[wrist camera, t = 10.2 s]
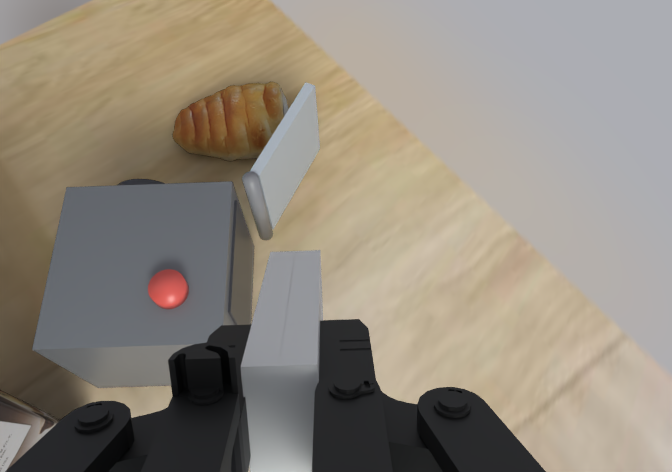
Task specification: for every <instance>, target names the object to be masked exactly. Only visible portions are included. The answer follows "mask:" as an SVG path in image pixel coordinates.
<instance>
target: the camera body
mask: <svg viewBox="0 0 672 472" xmlns="http://www.w3.org/2000/svg"><path fill="white" fill-rule="evenodd" d="M253 264H254V245H253V242H252V239H251V236H250V233H249V230H248V227H247V224H246V221H245V218H244V215H243V212H242V209H241V206H240V203H239V200H238V197H237V194H236V191H235V188H234V186H233V183H232V181H231V182H203V183H175V184H165V183H162V182H159V181H155V180H149V179H131V180H126V181H123V182H121V183H119V184H118V185H117V186H90V187H67V188H66V192H65V197H64V202H63V207H62V211H61V216H60V221H59V225H58V230H57V235H56V240H55V244H54V249H53V254H52V259H51V263H50V268H49V273H48V277H47V282H46V287H45V292H44V296H43V301H42V306H41V311H40V315H39V320H38V325H37V329H36V334H35V339H34V344H33V348H32V350H34V351H35V352H37V353H39V354H40V355H42V356H44V357H46V358H47V359H49V360H51V361H53V362H54V363H56V364H58V365H59V366H61V367H63V368H65V369H66V370H68V371H70V372H72V373H73V374H75V375H77V376H78V377H80V378H82V379H84V380H85V381H87V382H89V383H90V384H92V385H94V386H96V387H97V388H108V387H139V386H170V385H171V379H170V372H169V365H168V359H169V358H170V357H171V356H172V355H173V353H175V352H177V351H179V350H180V349H182V348H184V347H187V346H191V345H194V344H199V343H207V340H208V338H209V335H210V334H212V333H213V332H214V331H215V330H216V329H218V328H219V327H220V326H221V325H249V324H251V314H252V289H253Z"/></svg>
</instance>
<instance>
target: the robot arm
mask: <svg viewBox="0 0 672 472" xmlns="http://www.w3.org/2000/svg"><path fill="white" fill-rule="evenodd" d="M168 365H169V372H170V379H171V387H172V394H173V397H172V399H171V402H170V404H169V406H168V408H166V409H164V410H162V411H158V412H155V413H151V414H147V415H143V416H139V417H134V418H131V413H130V409H129V408H128V407H127V406H126V405H125V404H123V403H120V402H116V401H98V402H95V403H94V402H93V403H89V404H86V405H84V406H82V407H80V408H77V409H75V410H73V411H72V412H71V413H69V414H68V415H66V416H65V417H64V418H62V419H61V420H60V421H59V422H58V423H57V424H56V425H55V426H54V427H53V428H52V429H51V430H50V431H48V432H47V433H46V434H45V435H44V436H43V437H42V438H41V439H40V440H39V441H38V442H37V443H36V444H34V445H33V446H32V447H31V448H30V449H29V450H28V451H27V452H26V453H25V454H24V455H23V456H22V457H20V458H19V459H18V460H17V461H16V462H15V463H14V464H13V465H12V466H11V467H10V468H9V469H7V470H6V471H5V472H248V469H249V465H250V472H546V471H545V470H544V469H543V468H542V467H541V466H540V465H539V463H538V462H537V461H536V460H535V459H534V458H533V456H532V455H531V454H530V453H529V452H528V451H527V450H526V448H525V447H524V446H523V445H522V444H521V443H520V441H519V440H518V439H517V438H516V437H515V436H514V435H513V433H512V432H511V431H510V430H509V429H508V428H507V426H506V425H505V424H504V423H503V422H502V421H501V420H500V418H499V417H498V416H497V415H496V414H495V413H494V411H493V410H492V409H491V408H490V407H489V406H488V405H487V403H486V402H485V401H484V400H483V399H481V398H480V397H479V396H478V395H476V394H475V393H472V392H470V391H467V390H465V389H460V388H455V387H444V388H436V389H433V390H430V391H427V392H426V393H425V394H423V395H422V396H421V397H420V399H419V401H418V404H411V403H406V402H402V401H398V400H395V399H393V398H390V397H388V396H387V395H386V394H384V393H383V392H382V391H381V390H380V387H379V385H378V383H377V381H376V378H375V371H374V364H373V357H372V351H371V344H370V337H369V330H368V328H367V327H366V326H365V325H364V324H363V323H362V322H361V321H360V320H359V319H353V320H324V321H323V306H322V281H321V256H320V250H315V251H285V252H270V256H269V260H268V264H267V267H266V271H265V275H264V279H263V283H262V287H261V290H260V294H259V298H258V302H257V306H256V310H255V313H254V317H253V321H252V324H249V325H221V326H220V327H219V328H218V329H216V330H215V331H214V332H213V333H212V334H210V335H209V338H208V340H207V343H199V344H194V345H191V346H187V347H184V348H182V349H180V350H179V351H177V352H175V353H173V355H172V356H171V357H170V358H169V359H168Z"/></svg>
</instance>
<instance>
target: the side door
mask: <svg viewBox="0 0 672 472" xmlns="http://www.w3.org/2000/svg"><path fill="white" fill-rule="evenodd" d="M319 150H320V141H319V129H318V117H317V104H316V92H315V85H312V84H309V83H305V84H304V86H303V87H302V89H301V91H300V92H299V94H298V95H297V97H296V99H295V100H294V102H293V103H292V105H291V106H290V108H289V110H288V111H287V113H286V114H285V116H284V118H283V119H282V121H281V122H280V124H279V126H278V127H277V129H276V130H275V132H274V133H273V135H272V137H271V138H270V140H269V141H268V143H267V145H266V146H265V148H264V149H263V151H262V153H261V154H260V156H259V157H258V159H257V161H256V162H255V164H254V165H253V167H252V168H251V170H250V172H247V173H245V174H244V175H243V177H242V181H243V184H244V187H245V191H246V194H247V197H248V200H249V204H250V207H251V210H252V213H253V217H254V220H255V223H256V226H257V230H258V233H259V236H260V238H261V239H262V240H269V239H271V238H272V236H273V231H272V229H274V227H275V226H276V224H277V222H278V220H279V219H280V217H281V215H282V214H283V212H284V210H285V208H286V207H287V205H288V203H289V201H290V200H291V198H292V196H293V195H294V193H295V191H296V189H297V188H298V186H299V184H300V182H301V181H302V179H303V177H304V175H305V174H306V172H307V170H308V169H309V167H310V165H311V163H312V162H313V160H314V158H315V156H316V155H317V153H318V151H319Z"/></svg>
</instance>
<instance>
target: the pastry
mask: <svg viewBox="0 0 672 472" xmlns="http://www.w3.org/2000/svg"><path fill="white" fill-rule="evenodd" d="M287 111H288V106H287V100H286V97H285V96H284V94H283V91H282V89H281V87H280V86H279V85H278V84H277V83H274V82H269V83H267V84H260V83H250V84H245V85H243V86H236V85H233V86H229V87H227V88H226V89H224V90H221V91H218V92H216V93H215V94H214V95H212V96H208V97H205V98H204V99H201V100H199V101H197V102H195V103H192V104H191V105H190V106H188V107H187V108H186V109H183V110H181V112H180V113H179V115H178V116H177V118H176V121H175V126H174V131H173V139H174V141H175V142H176V143H177V144H179V145H180V146H181V147H182V148H183V149H184V150H186V151H187V152H188V153H193V154H198V155H207V156H211V157H218V158H221V159H224V160H227V161H234V160H235V159H253V158H258V157H259V156H260V154H261V153H262V151H263V149H264V148H265V146H266V145H267V143H268V141H269V140H270V138H271V137H272V135H273V133H274V132H275V130H276V129H277V127H278V126H279V124H280V122H281V121H282V119H283V118H284V116H285V114H286V113H287Z"/></svg>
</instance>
